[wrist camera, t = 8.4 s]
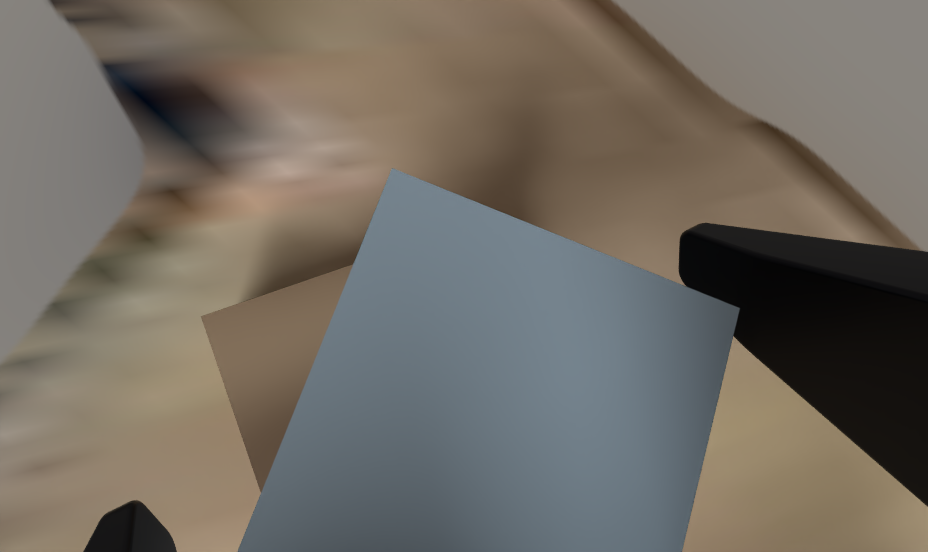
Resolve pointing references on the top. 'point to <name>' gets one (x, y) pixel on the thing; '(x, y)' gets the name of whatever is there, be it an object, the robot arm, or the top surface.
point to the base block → (271, 357)
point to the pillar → (496, 395)
